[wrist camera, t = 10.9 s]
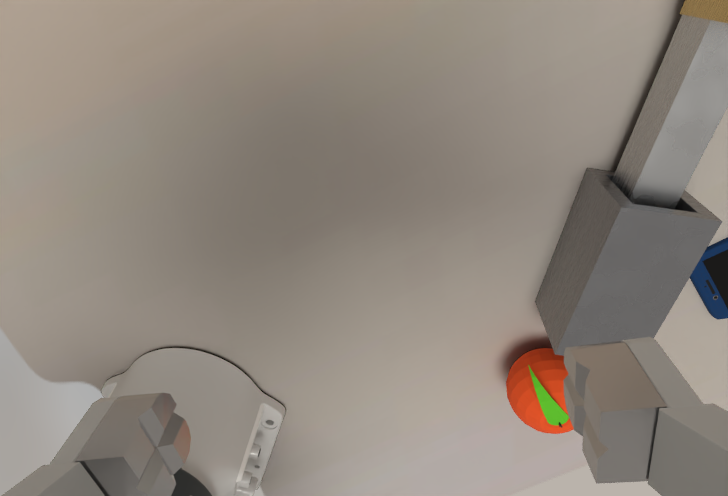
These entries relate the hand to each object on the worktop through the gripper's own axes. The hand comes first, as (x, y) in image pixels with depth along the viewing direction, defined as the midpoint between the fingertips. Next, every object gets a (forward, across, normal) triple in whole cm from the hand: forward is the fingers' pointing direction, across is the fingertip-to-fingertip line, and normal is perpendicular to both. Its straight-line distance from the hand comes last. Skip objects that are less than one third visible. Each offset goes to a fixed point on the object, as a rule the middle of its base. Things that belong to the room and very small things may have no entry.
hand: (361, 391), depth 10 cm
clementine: (+26, -10, +25) cm, 37 cm away
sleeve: (+26, -14, +14) cm, 32 cm away
